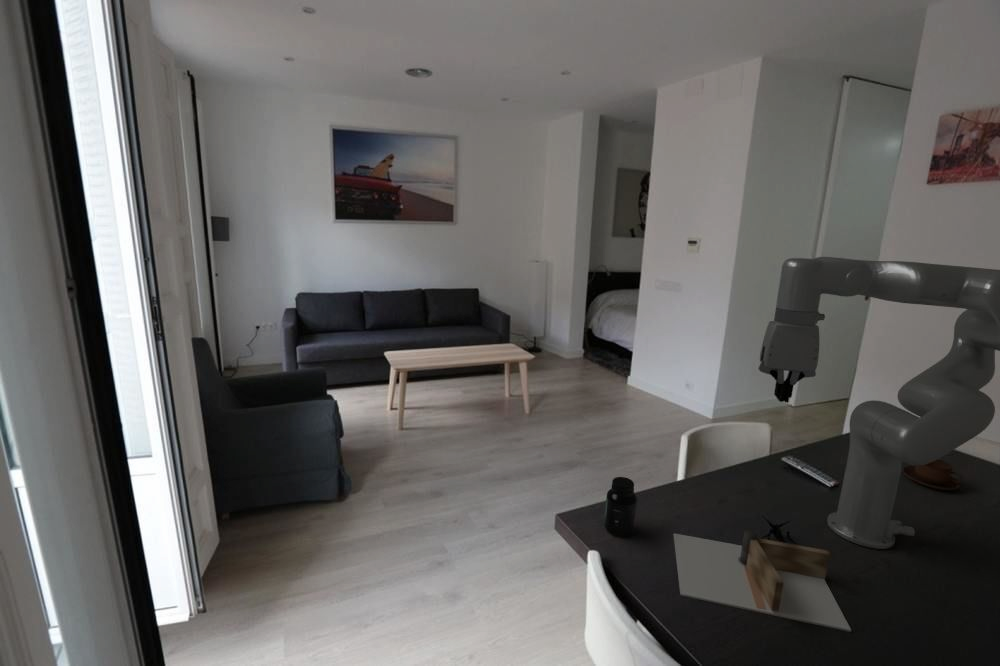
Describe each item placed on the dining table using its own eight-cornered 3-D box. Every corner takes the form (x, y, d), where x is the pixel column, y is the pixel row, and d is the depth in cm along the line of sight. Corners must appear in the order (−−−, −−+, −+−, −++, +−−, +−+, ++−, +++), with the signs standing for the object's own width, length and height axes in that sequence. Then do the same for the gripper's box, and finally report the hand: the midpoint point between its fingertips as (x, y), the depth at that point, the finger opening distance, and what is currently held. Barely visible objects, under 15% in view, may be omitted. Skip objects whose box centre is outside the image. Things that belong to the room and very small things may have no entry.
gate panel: (746, 565, 97) (750, 539, 95) (752, 566, 96) (756, 540, 95) (771, 610, 85) (776, 582, 84) (778, 611, 85) (783, 582, 84)
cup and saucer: (952, 479, 134) (957, 460, 133) (964, 499, 124) (970, 478, 123) (899, 468, 141) (903, 449, 139) (906, 485, 131) (910, 465, 129)
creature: (801, 562, 101) (791, 533, 108) (807, 544, 99) (796, 516, 105) (762, 555, 103) (754, 527, 110) (767, 537, 101) (758, 510, 107)
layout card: (813, 560, 100) (814, 558, 100) (852, 632, 82) (852, 630, 82) (673, 534, 107) (673, 532, 107) (680, 595, 89) (680, 593, 89)
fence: (821, 574, 96) (827, 544, 94) (825, 582, 93) (832, 552, 92) (738, 558, 100) (743, 529, 98) (740, 566, 97) (745, 536, 96)
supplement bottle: (598, 529, 109) (602, 482, 106) (612, 516, 114) (616, 471, 111) (626, 542, 104) (630, 493, 102) (639, 528, 109) (644, 481, 107)
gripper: (829, 317, 100) (814, 398, 104) (751, 312, 104) (741, 390, 108) (843, 323, 93) (827, 410, 97) (760, 318, 97) (748, 401, 101)
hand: (782, 399), depth 103 cm, fingers closed
